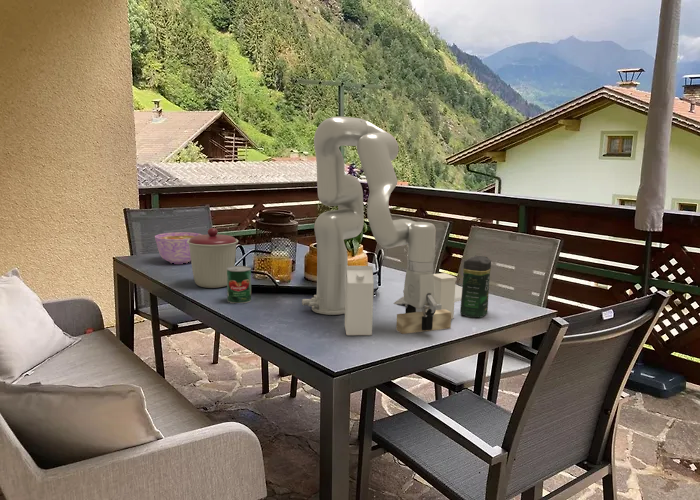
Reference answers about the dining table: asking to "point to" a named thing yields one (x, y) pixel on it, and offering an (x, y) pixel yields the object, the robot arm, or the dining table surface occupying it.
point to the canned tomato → (239, 284)
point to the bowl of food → (175, 246)
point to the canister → (212, 258)
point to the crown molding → (457, 298)
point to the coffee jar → (475, 286)
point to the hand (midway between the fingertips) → (418, 325)
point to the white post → (444, 292)
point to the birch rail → (414, 321)
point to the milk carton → (359, 300)
